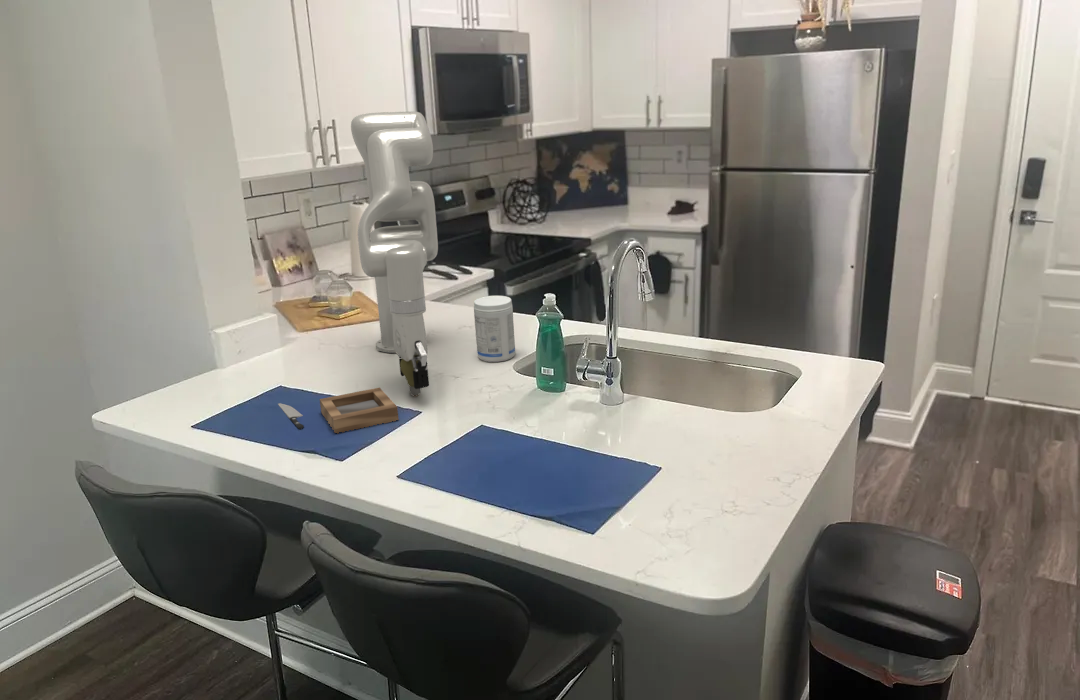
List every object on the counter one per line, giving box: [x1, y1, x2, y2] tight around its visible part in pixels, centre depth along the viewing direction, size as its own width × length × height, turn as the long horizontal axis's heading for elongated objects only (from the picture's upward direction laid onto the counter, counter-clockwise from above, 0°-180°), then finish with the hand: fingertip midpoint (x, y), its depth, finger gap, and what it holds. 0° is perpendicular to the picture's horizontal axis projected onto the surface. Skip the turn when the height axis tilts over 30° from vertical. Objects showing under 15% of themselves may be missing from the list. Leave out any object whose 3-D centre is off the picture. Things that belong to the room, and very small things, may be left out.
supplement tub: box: [473, 295, 516, 363], centre depth 200 cm, size 10×10×15 cm
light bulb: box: [399, 355, 422, 397], centre depth 177 cm, size 6×6×10 cm
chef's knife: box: [277, 402, 305, 430], centre depth 171 cm, size 19×1×3 cm
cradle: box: [319, 387, 400, 434], centre depth 168 cm, size 13×13×3 cm
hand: (414, 380), depth 177 cm, fingers open, 9 cm apart
